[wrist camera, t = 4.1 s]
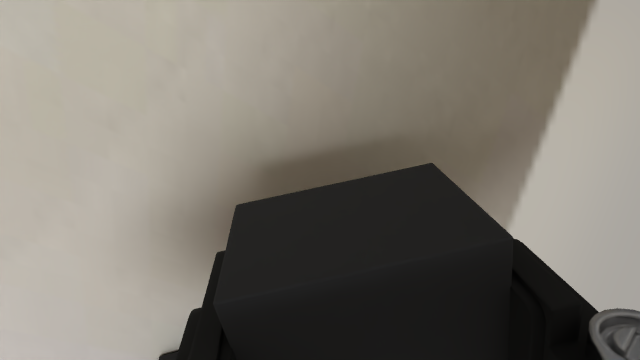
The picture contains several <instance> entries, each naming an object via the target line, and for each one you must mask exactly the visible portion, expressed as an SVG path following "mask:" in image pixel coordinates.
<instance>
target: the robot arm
mask: <svg viewBox="0 0 640 360" xmlns="http://www.w3.org/2000/svg"><path fill="white" fill-rule="evenodd" d="M224 255H225V251H221V252H217V254H216V257H215V261H214V264H213V268H212V272H211V275H210V279H209V283H208V286H207V290H206V294H205V297H204V301H203V305H202V308H197V309H194V310H193V311H191V313H190V315H189V318H188V321H187V325H186V328H185V331H184V334H183V338H182V341H181V344H180V347H179V351H178V354H177V357H176V360H237V359H236V356H235V354H234V351H233V349H232V348H230V345H229V343H228V340H227V338H226V335H225V333H224V330H223V328H222V325H221V322H220V320H219V317H218V315H217V312H216V310H215V307H214V305H213V301H214V297H215V293H216V289H217V284H218V280H219V276H220V272H221V267H222V263H223V259H224ZM508 360H640V312H639V311H636V310H630V309H609V310H604V311H602V312H598V311H597V310H596V309H595V308H594V307H593V306H592V305H590V304H589V303H588V302H587V301H586V300H585V299H584V298H583V297H582V296H581V295H579V294H578V293H577V292H576V291H575V290H574V289H573V288H572V287H571V286H569V285H568V284H567V283H566V282H565V281H564V280H563V279H562V278H561V277H559V276H558V275H557V274H556V273H555V272H554V271H553V270H552V269H551V268H550V267H549V266H547V265H546V264H545V263H544V262H543V261H542V260H541V259H540V258H539V257H537V256H536V255H535V254H534V253H533V252H532V251H531V250H530V249H529V248H527V247H526V246H525V245H524V244H523V243H522V242H520V241H519V240H517V239H513V264H512V286H511V287H510V317H509V347H508Z"/></svg>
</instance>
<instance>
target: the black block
mask: <svg viewBox="0 0 640 360" xmlns="http://www.w3.org/2000/svg"><path fill="white" fill-rule="evenodd" d="M512 264H513V237H512V236H511V235H510V234H509V233H508V232H507V231H506V230H505V229H504V228H503V227H501V226H500V225H499V224H498V223H497V222H496V221H495V220H494V219H493V218H492V217H491V216H489V215H488V214H487V213H486V212H485V211H484V210H483V209H482V208H481V207H480V206H479V205H477V204H476V203H475V202H474V201H473V200H472V199H471V198H470V197H469V196H468V195H467V194H465V193H464V192H463V191H462V190H461V189H460V188H459V187H458V186H457V185H456V184H455V183H453V182H452V181H451V180H450V179H449V178H448V177H447V176H446V175H445V174H444V173H443V172H441V171H440V170H439V169H438V168H437V167H436V166H435V165H434V164H433V163H429V164H425V165H420V166H415V167H411V168H406V169H401V170H397V171H392V172H387V173H383V174H378V175H373V176H369V177H364V178H360V179H355V180H350V181H346V182H341V183H336V184H332V185H327V186H322V187H318V188H313V189H308V190H304V191H299V192H294V193H290V194H285V195H281V196H276V197H271V198H267V199H262V200H257V201H253V202H248V203H243V204H239V205H236V208H235V212H234V217H233V221H232V225H231V229H230V233H229V238H228V242H227V246H226V250H225V255H224V259H223V263H222V267H221V272H220V276H219V280H218V284H217V289H216V293H215V297H214V301H213V305H214V307H215V310H216V312H217V315H218V317H219V320H220V322H221V325H222V328H223V330H224V333H225V335H226V338H227V340H228V343H229V345H230V348H232V349H233V351H234V354H235V356H236V359H237V360H508V347H509V317H510V287H511V286H512Z"/></svg>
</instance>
